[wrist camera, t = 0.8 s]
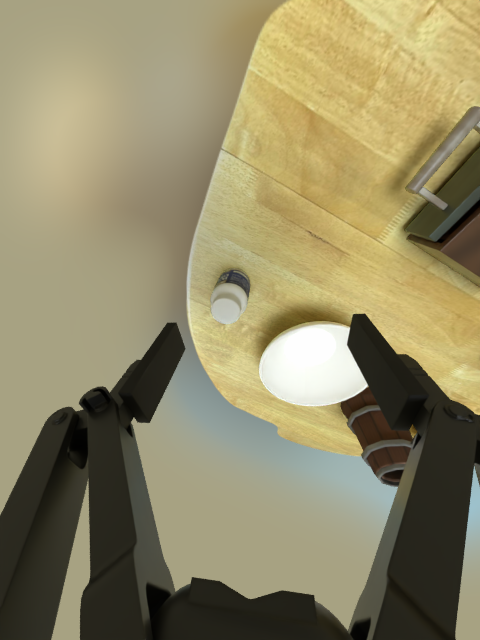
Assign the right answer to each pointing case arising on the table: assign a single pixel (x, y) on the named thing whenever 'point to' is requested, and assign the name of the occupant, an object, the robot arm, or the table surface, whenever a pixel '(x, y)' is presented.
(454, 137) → the drawer
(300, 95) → the table surface
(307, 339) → the bowl
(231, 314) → the pill bottle
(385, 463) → the mug
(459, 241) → the cabinet
